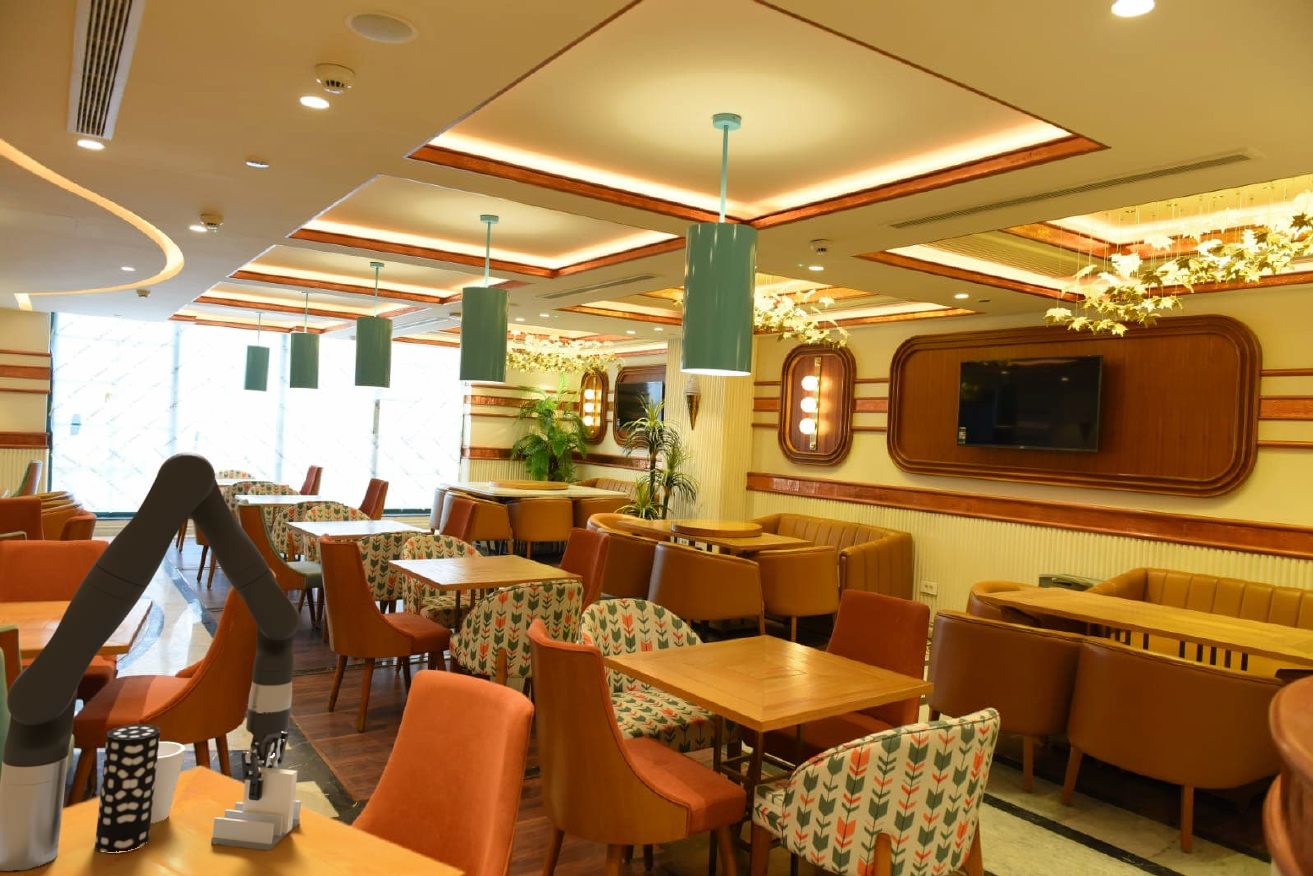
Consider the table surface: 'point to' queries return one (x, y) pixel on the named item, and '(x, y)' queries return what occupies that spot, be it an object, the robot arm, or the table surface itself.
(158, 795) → the foam cup
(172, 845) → the table surface
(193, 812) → the table surface
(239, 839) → the dish rack
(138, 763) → the spotted tube
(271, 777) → the cream upright slab
